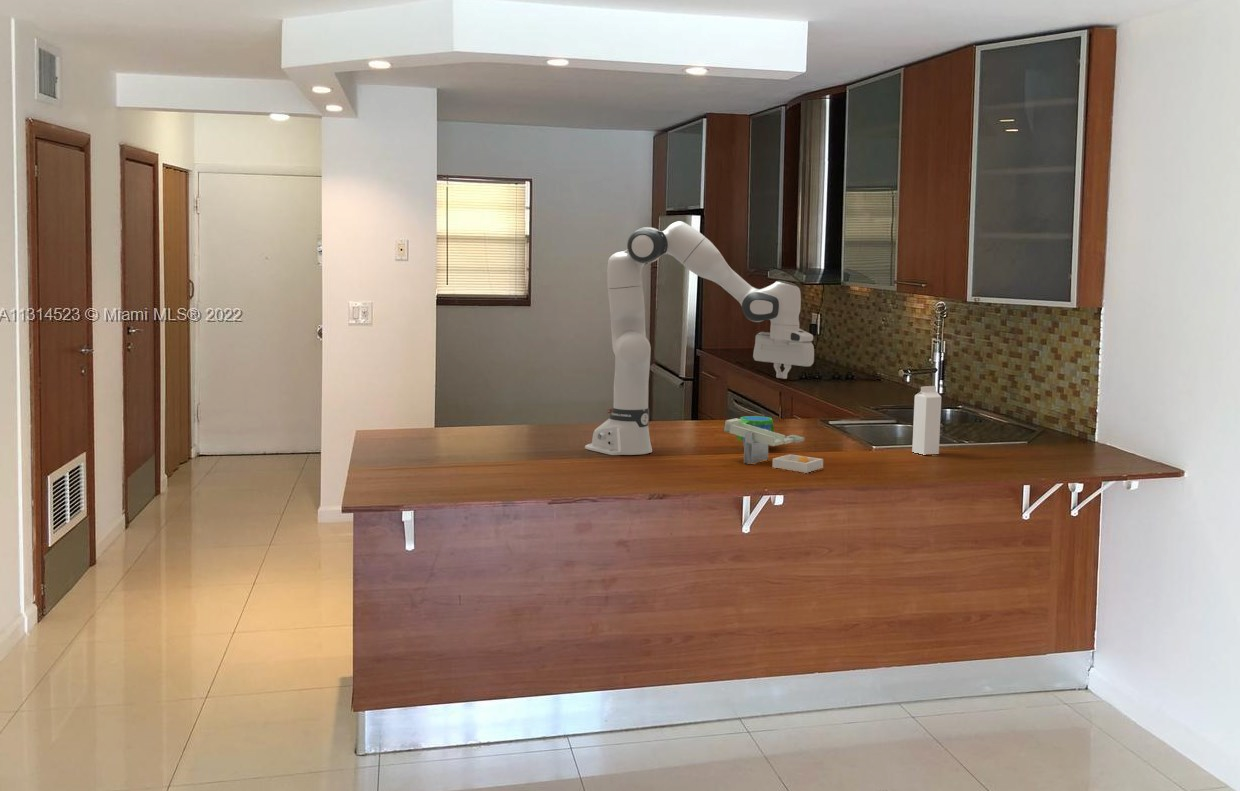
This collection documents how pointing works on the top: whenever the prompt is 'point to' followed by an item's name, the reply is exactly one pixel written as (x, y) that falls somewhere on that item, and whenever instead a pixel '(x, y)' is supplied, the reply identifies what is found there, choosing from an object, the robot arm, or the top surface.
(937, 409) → the milk
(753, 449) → the stand
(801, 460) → the ball
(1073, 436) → the top surface
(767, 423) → the snack cup
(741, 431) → the lever
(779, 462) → the white flat rimmed tray
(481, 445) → the top surface
